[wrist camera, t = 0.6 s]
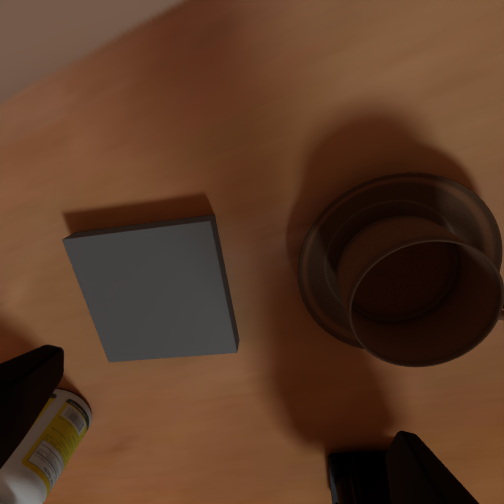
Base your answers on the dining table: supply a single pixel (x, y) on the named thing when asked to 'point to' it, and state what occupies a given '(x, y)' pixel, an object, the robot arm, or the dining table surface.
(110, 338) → the charcoal block
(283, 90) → the dining table surface
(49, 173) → the dining table surface
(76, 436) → the supplement bottle
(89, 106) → the dining table surface
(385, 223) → the cup and saucer
